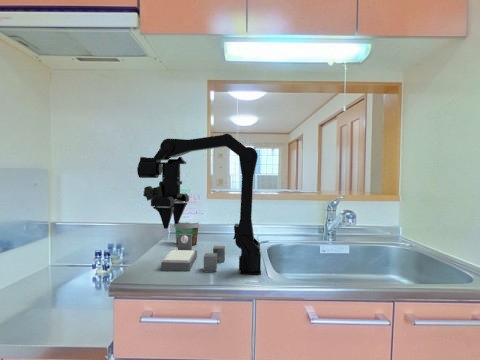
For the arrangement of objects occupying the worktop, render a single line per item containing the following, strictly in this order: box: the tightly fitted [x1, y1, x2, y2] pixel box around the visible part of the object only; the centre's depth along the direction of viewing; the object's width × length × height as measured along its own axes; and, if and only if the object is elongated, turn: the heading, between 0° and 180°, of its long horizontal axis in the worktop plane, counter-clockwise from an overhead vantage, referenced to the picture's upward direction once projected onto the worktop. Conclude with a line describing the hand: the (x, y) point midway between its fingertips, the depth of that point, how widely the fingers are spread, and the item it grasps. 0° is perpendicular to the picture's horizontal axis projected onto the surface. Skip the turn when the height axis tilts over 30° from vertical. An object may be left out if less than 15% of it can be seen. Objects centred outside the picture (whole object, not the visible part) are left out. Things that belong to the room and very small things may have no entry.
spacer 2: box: [212, 245, 226, 264], centre depth 116 cm, size 4×4×5 cm
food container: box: [173, 221, 200, 247], centre depth 139 cm, size 12×6×10 cm, turn 62°
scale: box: [161, 234, 198, 272], centre depth 112 cm, size 9×17×8 cm, turn 0°
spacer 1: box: [203, 252, 218, 273], centre depth 105 cm, size 4×4×5 cm
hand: (171, 226), depth 106 cm, fingers open, 9 cm apart
